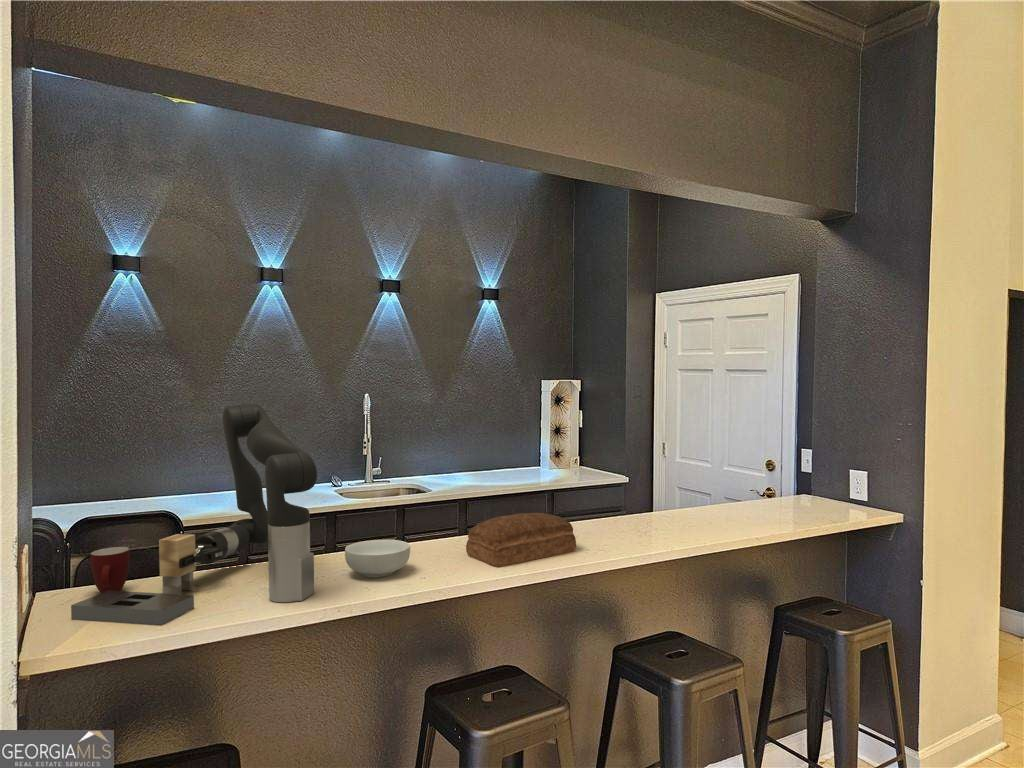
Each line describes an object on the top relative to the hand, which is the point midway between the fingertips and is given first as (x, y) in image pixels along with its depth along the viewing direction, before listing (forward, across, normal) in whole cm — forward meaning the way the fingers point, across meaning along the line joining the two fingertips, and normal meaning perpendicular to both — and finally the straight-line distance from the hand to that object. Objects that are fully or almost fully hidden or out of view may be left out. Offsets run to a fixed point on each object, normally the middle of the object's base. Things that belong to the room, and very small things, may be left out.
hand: (170, 563), depth 154 cm
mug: (0, -16, +8) cm, 18 cm away
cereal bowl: (-26, +41, +8) cm, 49 cm away
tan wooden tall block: (-3, 0, +8) cm, 8 cm away
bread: (-50, +74, +9) cm, 90 cm away
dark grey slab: (+11, 0, +8) cm, 14 cm away
